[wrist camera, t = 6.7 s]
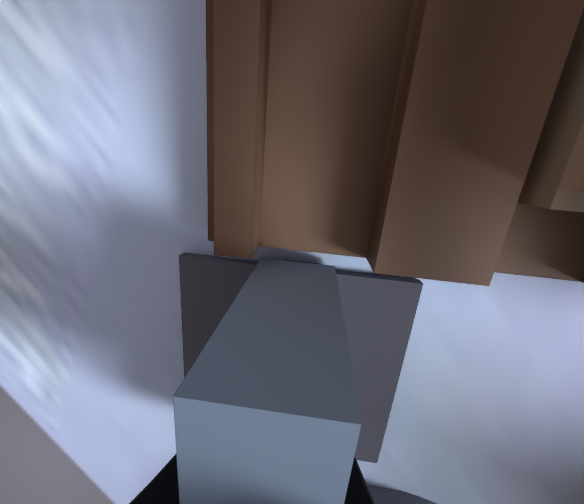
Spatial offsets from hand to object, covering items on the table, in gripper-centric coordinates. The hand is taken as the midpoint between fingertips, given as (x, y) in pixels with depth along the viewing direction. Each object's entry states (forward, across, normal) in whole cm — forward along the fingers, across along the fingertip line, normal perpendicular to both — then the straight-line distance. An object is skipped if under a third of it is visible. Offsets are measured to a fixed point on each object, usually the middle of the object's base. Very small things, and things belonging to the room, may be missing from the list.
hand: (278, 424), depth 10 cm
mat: (+3, 0, 0) cm, 3 cm away
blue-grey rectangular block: (+3, 0, 0) cm, 3 cm away
